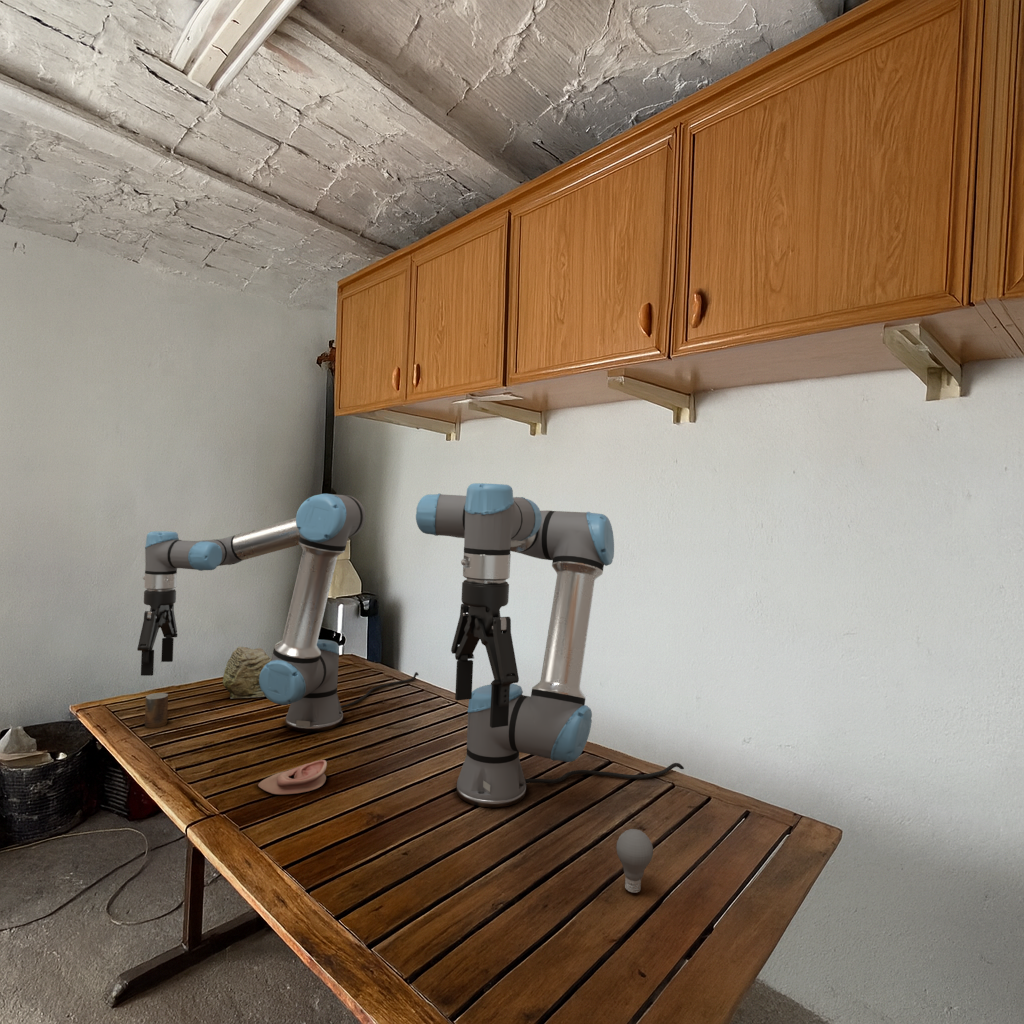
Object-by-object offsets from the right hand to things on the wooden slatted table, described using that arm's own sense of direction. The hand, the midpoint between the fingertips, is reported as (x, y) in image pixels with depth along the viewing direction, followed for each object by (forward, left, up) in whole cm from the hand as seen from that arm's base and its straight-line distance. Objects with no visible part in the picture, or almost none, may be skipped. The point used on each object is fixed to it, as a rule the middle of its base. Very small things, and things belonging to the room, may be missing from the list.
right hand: (480, 712), depth 102 cm
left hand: (+48, -101, -15) cm, 113 cm away
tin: (+48, -102, -30) cm, 116 cm away
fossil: (+21, -119, -30) cm, 125 cm away
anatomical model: (+20, -52, -30) cm, 63 cm away
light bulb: (-25, +9, -30) cm, 40 cm away
